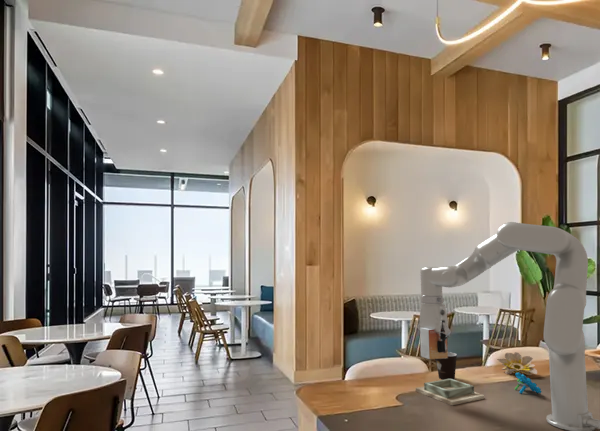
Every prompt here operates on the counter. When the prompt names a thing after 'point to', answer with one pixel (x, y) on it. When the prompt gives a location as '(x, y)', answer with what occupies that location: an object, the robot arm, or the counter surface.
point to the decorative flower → (518, 364)
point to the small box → (431, 344)
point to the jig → (450, 391)
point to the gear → (526, 384)
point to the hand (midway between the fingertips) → (434, 349)
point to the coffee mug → (447, 366)
